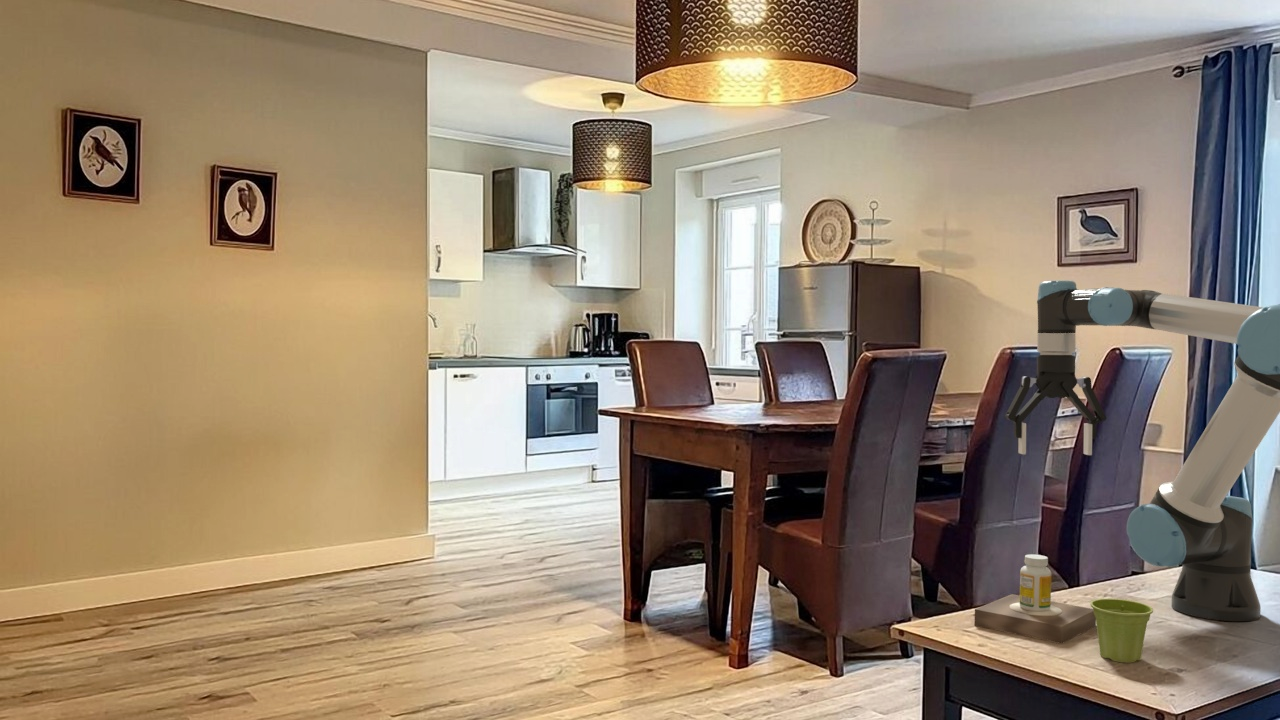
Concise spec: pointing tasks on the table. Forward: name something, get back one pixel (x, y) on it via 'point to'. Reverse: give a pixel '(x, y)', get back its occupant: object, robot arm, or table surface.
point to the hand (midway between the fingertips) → (1054, 454)
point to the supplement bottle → (1035, 584)
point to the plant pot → (1121, 628)
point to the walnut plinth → (1035, 619)
